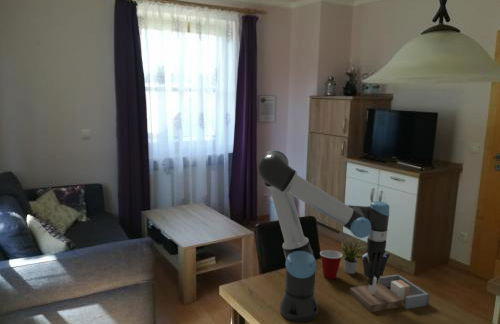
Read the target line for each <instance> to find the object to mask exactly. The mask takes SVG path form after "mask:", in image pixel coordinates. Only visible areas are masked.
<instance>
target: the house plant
mask: <svg viewBox="0 0 500 324" xmlns="http://www.w3.org/2000/svg"><path fill="white" fill-rule="evenodd" d="M361 241H362V240H359V241H357V242H356V243H355V245H354V247H353V244H352V241H350V239H348V238H347V242H348V243H349V249H348V247H347V244H345V243H344V242H343V241H341V248H342V249H341V251H340V253H341V254H342V255H343V256H342V257H343V266H344V267H343V268H344V273H346V274H351V275H353V274H355V273H356V272H357V267H358V263H359V260H358V259H357V258H360V259H362V258H361V255H363V254H362V253H358V252H359V251H360V250H362V249H363V248H366V247H367V245H363V244H360V242H361ZM357 246H358V247H357Z"/></svg>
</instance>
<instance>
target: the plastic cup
mask: <svg viewBox="0 0 500 324" xmlns="http://www.w3.org/2000/svg"><path fill="white" fill-rule="evenodd" d="M319 255H320V257H321V264H322V273H323V278H325V279H327V280H335V279H336V278H337V274H338V271H339V267H340V262H341V260H342V257H343V255H344V254H343V253H341V252H339V251H336V250H322V251H320V252H319Z"/></svg>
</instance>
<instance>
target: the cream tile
mask: <svg viewBox="0 0 500 324" xmlns="http://www.w3.org/2000/svg"><path fill="white" fill-rule="evenodd" d="M389 288H390V289H389V290H391V291H392V292H394V293H395V294H396V295H398V296H399V297H400V298H402V299H403V300H404V292H405V287H404V286H403V285H401V284H400V283H398V282H397V281H391V287H389ZM404 301H405V300H404Z"/></svg>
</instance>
